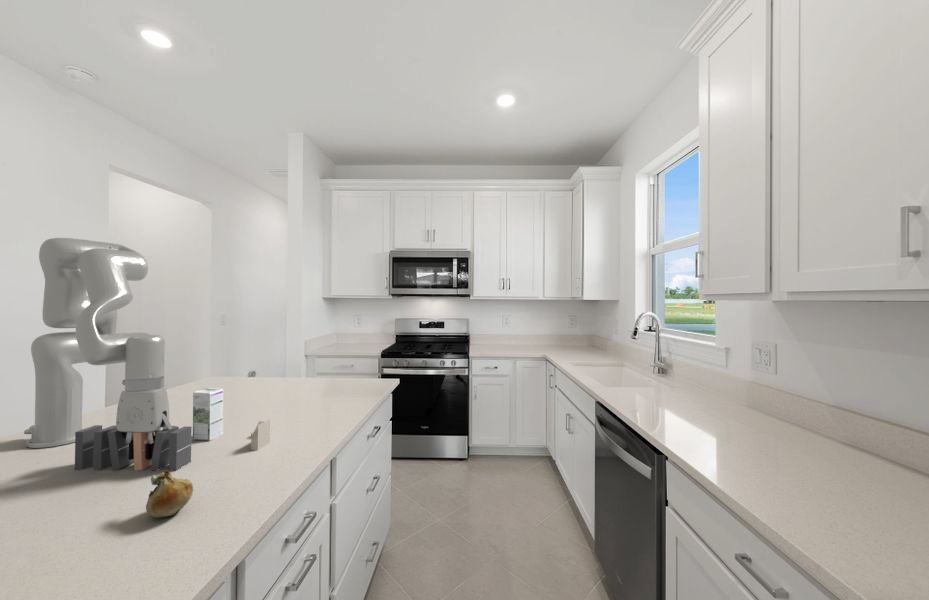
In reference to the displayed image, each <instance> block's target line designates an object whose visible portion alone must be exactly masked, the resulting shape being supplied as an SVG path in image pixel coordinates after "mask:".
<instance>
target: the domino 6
mask: <svg viewBox="0 0 929 600" xmlns="http://www.w3.org/2000/svg"><path fill="white" fill-rule="evenodd" d="M192 429H193V426H183V427H181V428H180V427H179V429H178V430H176V431H173V432H171V433H169V465H168V471H169V470H177V469H179V468H180V469H182V468H183V467H182V466H184V465H185V466H187V465H189V464H190V463H189V462H191V463H192ZM188 463H189V464H188ZM186 464H187V465H186ZM185 466H184V467H185ZM181 467H182V468H181ZM180 469H179V470H180ZM177 471H178V470H177Z"/></svg>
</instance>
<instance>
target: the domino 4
mask: <svg viewBox="0 0 929 600" xmlns="http://www.w3.org/2000/svg"><path fill="white" fill-rule="evenodd" d="M154 435H155V432H154ZM133 442H134V462H133V468H134V471H144V470H145V469H147V468H149V467H151V461H152V459H150V460H146V444H148V443H149V442H148V435H147V433H141V432H134V433H133Z"/></svg>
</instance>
